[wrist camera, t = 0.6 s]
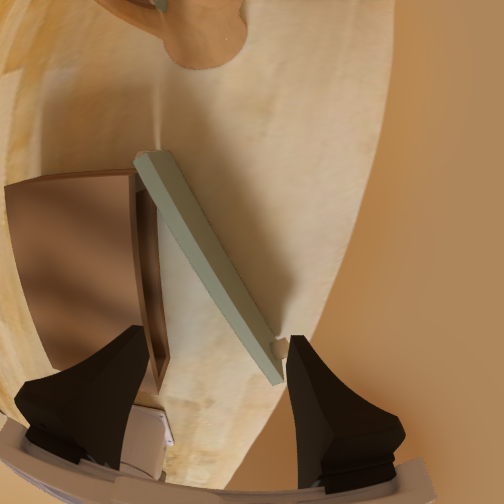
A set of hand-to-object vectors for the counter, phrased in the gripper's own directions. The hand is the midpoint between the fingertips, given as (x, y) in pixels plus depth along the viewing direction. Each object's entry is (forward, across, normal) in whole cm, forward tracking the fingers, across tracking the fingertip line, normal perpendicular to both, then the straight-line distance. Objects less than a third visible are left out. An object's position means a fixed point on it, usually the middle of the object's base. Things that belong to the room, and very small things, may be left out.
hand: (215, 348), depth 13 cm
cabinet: (+10, +12, +1) cm, 15 cm away
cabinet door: (+9, 0, -1) cm, 9 cm away
